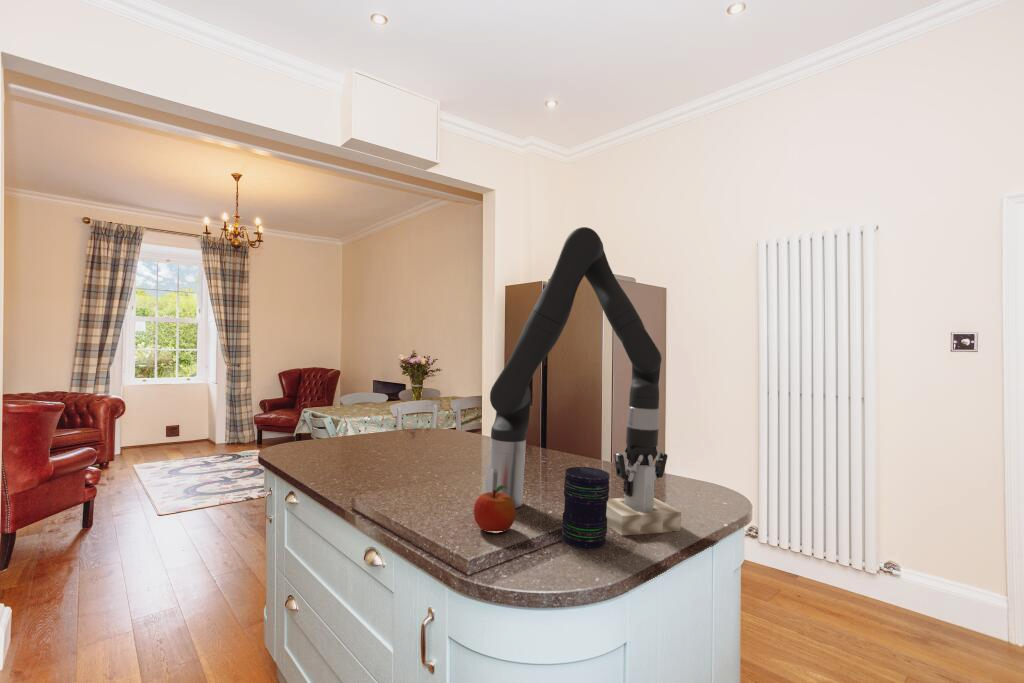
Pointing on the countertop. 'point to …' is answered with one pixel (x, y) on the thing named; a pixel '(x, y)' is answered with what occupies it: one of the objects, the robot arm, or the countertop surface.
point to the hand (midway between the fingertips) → (638, 494)
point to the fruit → (494, 510)
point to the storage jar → (585, 507)
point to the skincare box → (642, 489)
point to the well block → (642, 518)
